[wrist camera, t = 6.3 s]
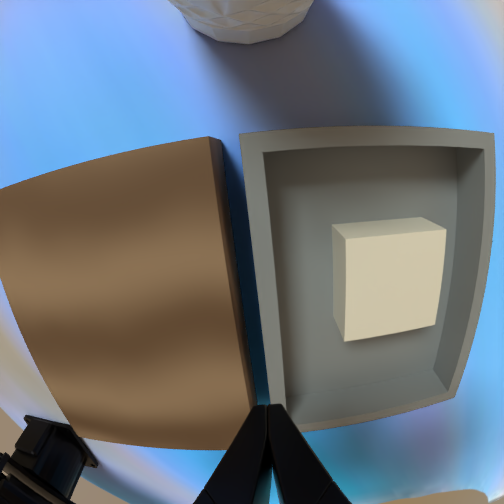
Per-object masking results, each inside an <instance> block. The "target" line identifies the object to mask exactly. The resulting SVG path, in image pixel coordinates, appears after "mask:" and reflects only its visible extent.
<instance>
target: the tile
mask: <svg viewBox="0 0 504 504" xmlns="http://www.w3.org/2000/svg"><path fill="white" fill-rule="evenodd" d="M445 244H446V229H445V228H443V227H441V226H439V225H437V224H435V223H433V222H431V221H429V220H427V219H425V218H423V217H416V218H403V219H391V220H379V221H367V222H355V223H344V224H333V225H332V247H333V316H334V319H335V321H336V323H337V326H338V328H339V330H340V333H341V335H342V338H343V340H344V342H346V341H352V340H358V339H365V338H371V337H376V336H382V335H387V334H393V333H398V332H403V331H408V330H413V329H418V328H422V327H427V326H432V325H435V321H436V315H437V309H438V303H439V297H440V290H441V282H442V274H443V266H444V256H445Z"/></svg>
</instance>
